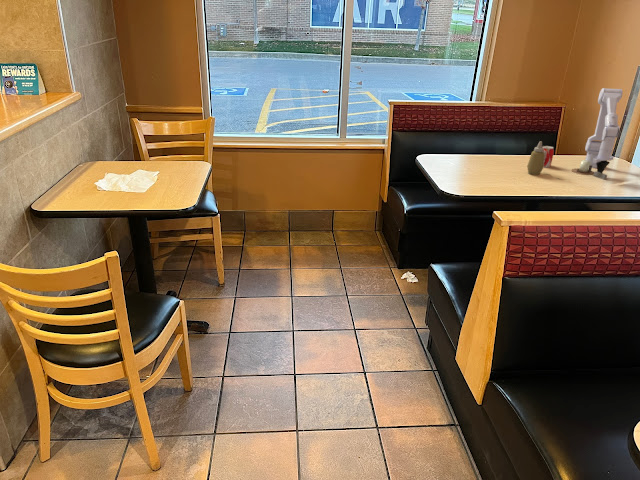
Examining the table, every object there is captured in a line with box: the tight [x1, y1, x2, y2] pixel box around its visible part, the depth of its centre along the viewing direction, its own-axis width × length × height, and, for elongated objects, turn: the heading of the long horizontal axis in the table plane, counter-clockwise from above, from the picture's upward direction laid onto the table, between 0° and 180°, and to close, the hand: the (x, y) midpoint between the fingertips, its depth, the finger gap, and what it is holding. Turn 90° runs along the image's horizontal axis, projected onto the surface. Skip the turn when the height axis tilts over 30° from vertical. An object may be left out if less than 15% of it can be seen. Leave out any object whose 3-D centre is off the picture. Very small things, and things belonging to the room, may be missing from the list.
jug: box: [578, 159, 591, 172], centre depth 258 cm, size 6×4×6 cm
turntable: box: [570, 166, 608, 181], centre depth 255 cm, size 20×12×4 cm, turn 21°
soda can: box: [542, 145, 555, 168], centre depth 267 cm, size 7×7×12 cm
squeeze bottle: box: [526, 140, 545, 176], centre depth 255 cm, size 8×8×18 cm
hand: (599, 174), depth 252 cm, fingers closed, pressing on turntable
